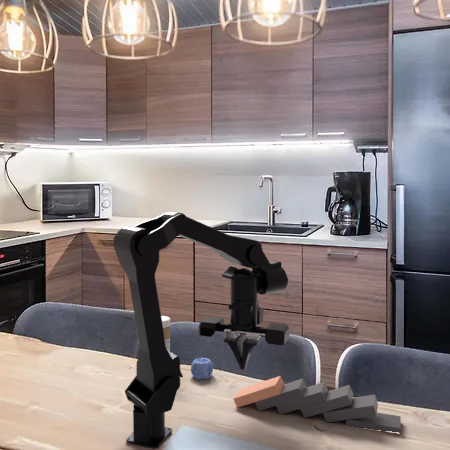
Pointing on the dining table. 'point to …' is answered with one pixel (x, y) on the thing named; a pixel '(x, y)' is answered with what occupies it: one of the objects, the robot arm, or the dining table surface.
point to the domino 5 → (354, 409)
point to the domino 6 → (377, 422)
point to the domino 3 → (306, 398)
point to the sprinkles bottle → (166, 330)
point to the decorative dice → (202, 368)
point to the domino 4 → (331, 401)
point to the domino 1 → (259, 391)
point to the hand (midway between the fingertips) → (243, 369)
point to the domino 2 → (284, 395)
